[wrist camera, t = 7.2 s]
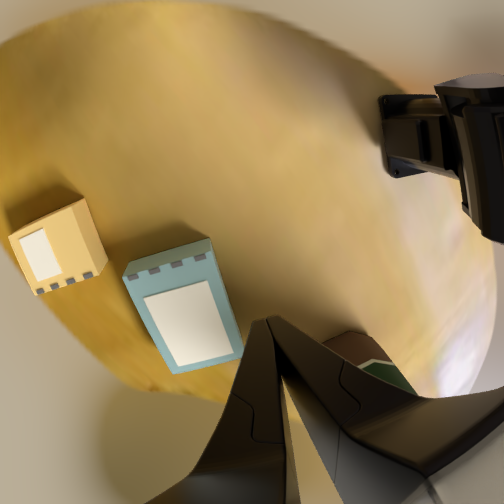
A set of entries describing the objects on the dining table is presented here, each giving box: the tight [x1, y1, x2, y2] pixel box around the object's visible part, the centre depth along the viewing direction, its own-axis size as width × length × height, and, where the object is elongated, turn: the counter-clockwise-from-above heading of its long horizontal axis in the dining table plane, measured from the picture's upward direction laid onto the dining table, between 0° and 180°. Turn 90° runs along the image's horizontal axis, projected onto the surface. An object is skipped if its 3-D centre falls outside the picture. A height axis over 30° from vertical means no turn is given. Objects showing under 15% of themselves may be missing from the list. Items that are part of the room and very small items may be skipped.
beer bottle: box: [322, 331, 418, 395], centre depth 16 cm, size 8×8×24 cm
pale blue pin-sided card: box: [122, 238, 244, 374], centre depth 20 cm, size 6×9×2 cm, turn 13°
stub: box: [8, 198, 108, 296], centre depth 16 cm, size 6×5×2 cm
